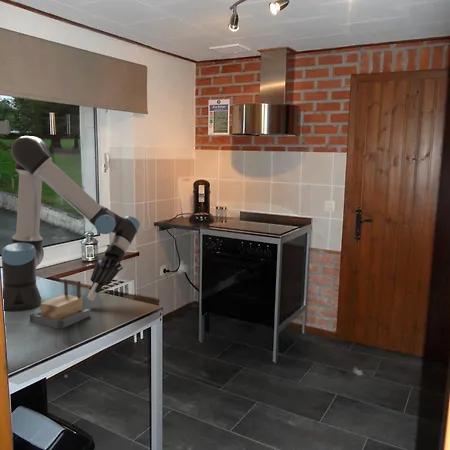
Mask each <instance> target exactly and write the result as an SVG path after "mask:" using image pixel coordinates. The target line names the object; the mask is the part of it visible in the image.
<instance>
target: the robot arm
mask: <svg viewBox="0 0 450 450" xmlns="http://www.w3.org/2000/svg"><path fill="white" fill-rule="evenodd" d="M10 148H11V149H10V152H11V156H12V158H13V160H14V162H15V167H14V170H15V171H16V172H17V173H18V174H19V176H18V191H17V192H18V193H17V194H18V195H17V211H16V229H15V230H16V231H15V232H16V233H15V234H13V235H12V237H11V244H7V245H6V246H4V247H3V248H2V251H1V263H2V264H1V266H2V289H3V299H4V309H5V312H25V311H30V310H32V309H35V308H38V307H41V303H42V297H41V294H40V291H39V288H38V286H37V268H38V266H39V265H40V264H41V263H42V261H43V259H44V254H45V252H44V248H43V244H44V243H43V242H44V241H43V239H44V238H43V237H42V236H41V234H40V227H41V226H40V224H41V209H42V208H41V207H42V189H43V183H45V184H46V185H47V186H48V187H49V188H50V189H52V190H53V191H54V192H55V193H56V194H58V196H60V197H61V198H62V199H63V200H64V201H65V202H67V204H69V205H70V206H71V207H72V208H73V209H74V210H75V211H77V212H78V213H79V214H80V215H82V216H83V217H84V218H85V219H86V220H87V222H89V223H90V224H92V225H93V227H94V228H95V230H96V231H97V232H98V233H99V234H101V235H109V234H111V233H113V234H114V236H113V238H112V239H111V241H110V243H109V245H108V246H107V248H106V250H105V252H104V255H103V256H102V258H101V259H99V260H98V259H95V260H94V268H93V271H92V273H91V277H90V281H91V282H92V285H91V286H90V288H89V292H88V294H87V296H86V298H87V299H88V300H90V301H95V298H96V296H97V295H98V294H99V293H100V292H101V290H102V289H103V287H104V286H106V287H107V286H109V285H110V283H111V282H112V281H113V280H114V278H116V276H117V274H119V272H120V271H122V270H123V269H124V266H123V265H122V264H121V262H122V260H124V257H125V255H126V253H127V251H128V249H129V247H130V246H131V244H132V242H133V241H134V239H135V236H137V233H138V231H139V228H140V226H141V225H140V221H139V220H138V219H137V217H134V216H131V215H127V216H125V217H123V216H121V215H118V214H117V213H115V212H114V211H112V210H110V209H109V208H108V207H105V206H103V205H101V204H99V203H98V202H97V201H96V200H95V199H94V198H93V197H92V196H90V195H89V194H88V193H87V192H86V191H85V190H84V189H83V188H82V187H80V185H78V184H77V183H76V182H75V181H74V180H73V179H72V178H71V177H70V176H68V175H67V174H66V173H65V172H64V171H63V170H62V169H60V167H59V166H57V165H56V164H55V163H54V162H53V158H52V157H51V153H50V152H51V151H50V148H49V146H48V144H47V143H46V142H45V141H44V140H43V139H41V138H39V137H38V136H29V135H24V136H20V137H18V138H16V139H15V140H14V141H13V143H12V144H11V147H10Z"/></svg>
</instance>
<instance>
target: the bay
mask: <svg viewBox="0 0 450 450" xmlns="http://www.w3.org/2000/svg"><path fill="white" fill-rule="evenodd" d="M90 316H91V310H90V309H88V308H86V309H82V311H81V312H78V313H76V314H73V315H71V316H69V317H66V318H64V319H61V320H59V319H54V318H50V317H46V316H42V315H41V310H38V311H36V312H34V313H31V314H29V322H30V323H35V324H39V325H43V326H46V327H50V328H55V329H58V330H62V329H64V328H67V327H69V326H71V325H73V324H75V323H78V322H79V321H82V320H85V319H87V318H89V317H90Z"/></svg>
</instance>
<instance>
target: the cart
mask: <svg viewBox="0 0 450 450" xmlns="http://www.w3.org/2000/svg"><path fill="white" fill-rule="evenodd" d="M63 281H64V282H63V285H64V287H63V288H64V290H63V292H64V293H63V294H62V295H59V296H57V297H53V298H51V299H47V300H45V301H41V305H40V311H41V315H42V316H46V317H50V318H54V319H59V320H61V319H64V318H66V317H69V316H71V315H73V314H76V313H78V312H81V311H83V297H81V295H82V294H81V293H82V291H81V287H82V286H81V281H80V280H74V279H69V278H65V279H64V280H63ZM68 283H70V284H77V285H76V287H77V288H76V289H77V291H76V294H77V295H71V294H69V292H68V291H69V290H68V288H69V286H68V285H69V284H68Z"/></svg>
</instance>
